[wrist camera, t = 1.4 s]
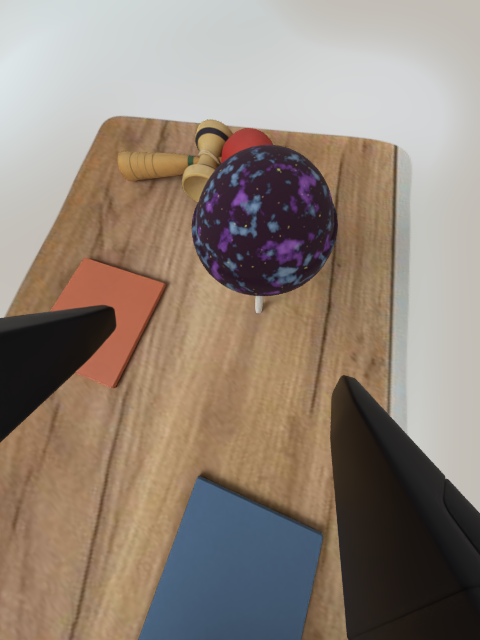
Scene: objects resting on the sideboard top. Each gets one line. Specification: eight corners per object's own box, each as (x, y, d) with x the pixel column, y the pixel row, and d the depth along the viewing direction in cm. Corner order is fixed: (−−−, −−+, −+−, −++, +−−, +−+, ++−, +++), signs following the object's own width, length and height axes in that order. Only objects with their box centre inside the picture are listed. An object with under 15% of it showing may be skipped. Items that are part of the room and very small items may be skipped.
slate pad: (271, 762, 14) (272, 775, 13) (128, 668, 15) (124, 678, 15) (321, 532, 17) (323, 536, 16) (198, 475, 18) (197, 477, 18)
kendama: (128, 215, 28) (271, 214, 24) (92, 160, 23) (268, 146, 19) (152, 178, 32) (281, 172, 28) (126, 123, 26) (281, 105, 22)
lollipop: (272, 358, 21) (310, 286, 6) (210, 321, 22) (131, 197, 8) (306, 298, 22) (398, 133, 8) (246, 268, 24) (235, 82, 9)
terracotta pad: (115, 388, 21) (111, 388, 20) (29, 351, 22) (24, 351, 22) (166, 285, 24) (164, 283, 23) (87, 259, 25) (84, 257, 25)
